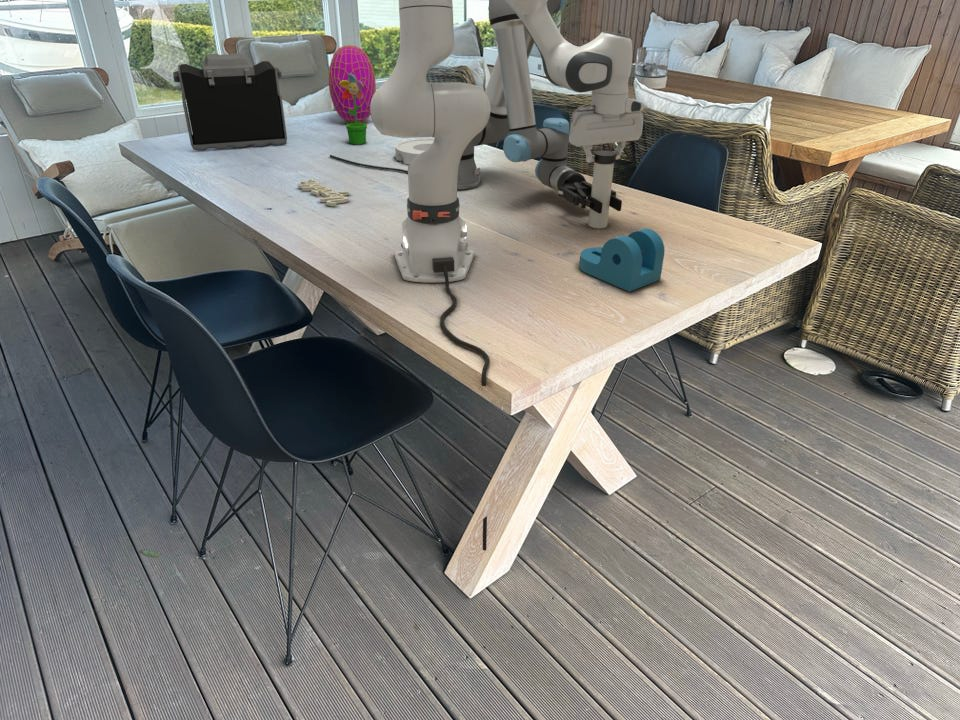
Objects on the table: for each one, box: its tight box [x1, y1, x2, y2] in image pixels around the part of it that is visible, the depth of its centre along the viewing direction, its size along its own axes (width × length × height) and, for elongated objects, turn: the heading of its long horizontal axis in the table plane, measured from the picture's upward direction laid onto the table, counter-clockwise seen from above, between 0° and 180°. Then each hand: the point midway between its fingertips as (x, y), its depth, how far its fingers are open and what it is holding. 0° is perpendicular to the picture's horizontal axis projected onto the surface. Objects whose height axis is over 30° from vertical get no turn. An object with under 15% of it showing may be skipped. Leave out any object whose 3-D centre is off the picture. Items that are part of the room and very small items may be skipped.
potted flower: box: [339, 73, 368, 145], centre depth 255 cm, size 9×8×25 cm
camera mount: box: [578, 228, 665, 292], centre depth 154 cm, size 18×10×10 cm, turn 39°
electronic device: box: [172, 52, 288, 152], centre depth 253 cm, size 37×22×30 cm, turn 111°
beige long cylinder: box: [587, 162, 615, 229], centre depth 180 cm, size 5×5×19 cm
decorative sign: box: [297, 178, 350, 207], centre depth 206 cm, size 26×1×10 cm
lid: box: [593, 150, 617, 164], centre depth 176 cm, size 6×6×2 cm
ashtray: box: [394, 138, 434, 166], centre depth 243 cm, size 23×23×4 cm
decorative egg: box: [328, 44, 377, 124], centre depth 286 cm, size 19×19×30 cm
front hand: (603, 160), depth 176 cm, fingers open, 7 cm apart
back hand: (610, 207), depth 177 cm, fingers closed on beige long cylinder, 5 cm apart
